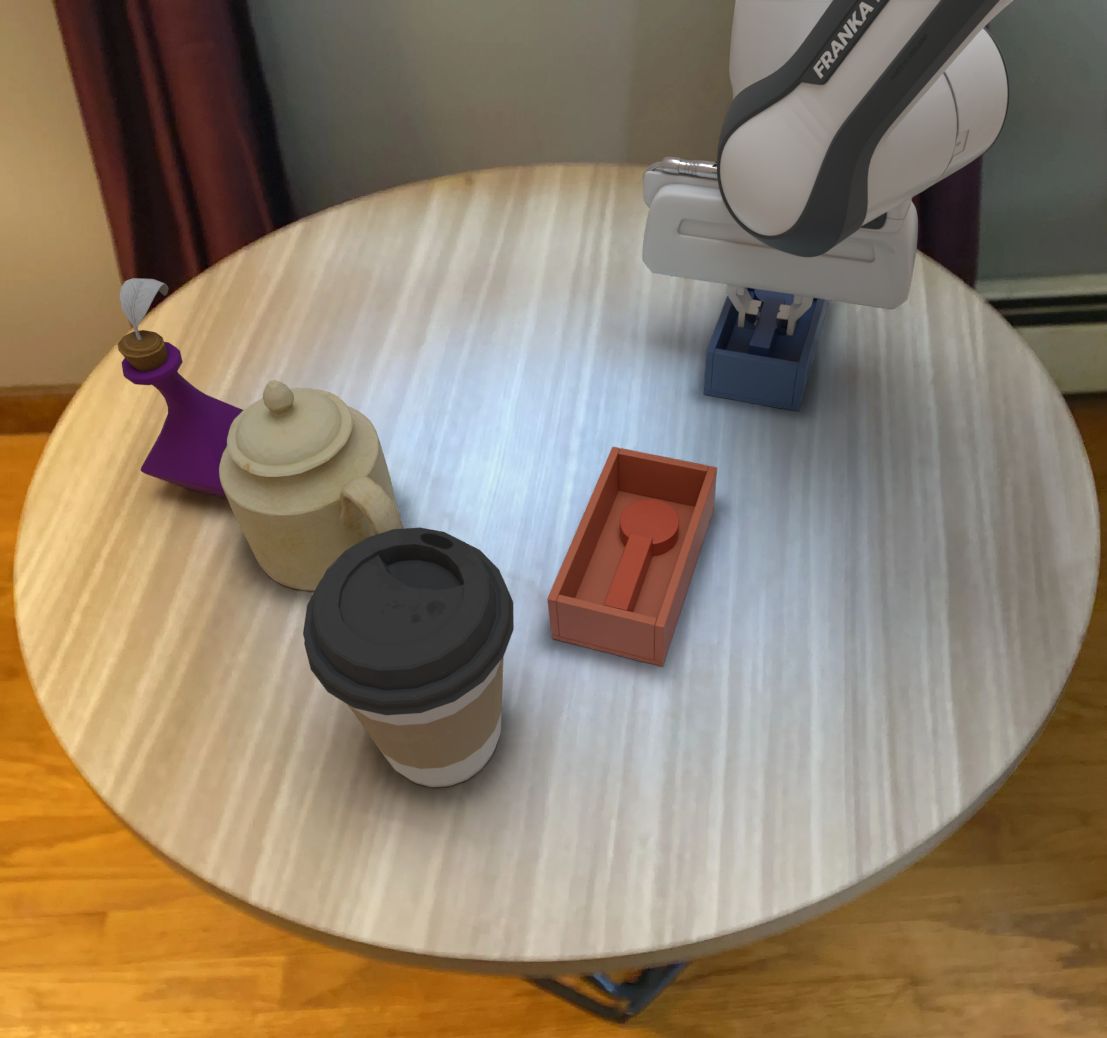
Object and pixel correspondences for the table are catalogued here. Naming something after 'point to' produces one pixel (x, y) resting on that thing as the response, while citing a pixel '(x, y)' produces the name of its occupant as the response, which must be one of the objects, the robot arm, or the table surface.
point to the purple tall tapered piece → (174, 401)
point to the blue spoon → (767, 321)
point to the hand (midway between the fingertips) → (767, 327)
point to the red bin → (601, 549)
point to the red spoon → (641, 548)
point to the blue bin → (762, 360)
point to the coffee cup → (415, 649)
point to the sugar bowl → (305, 481)
